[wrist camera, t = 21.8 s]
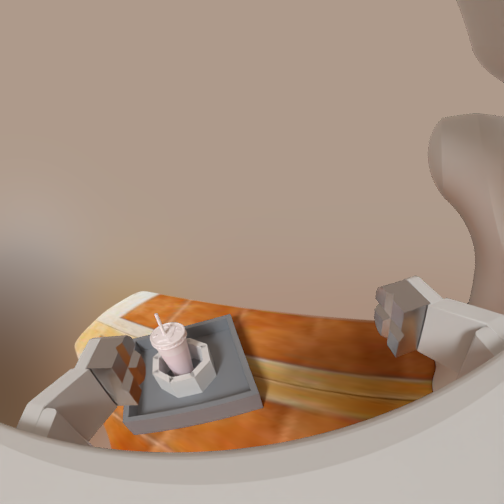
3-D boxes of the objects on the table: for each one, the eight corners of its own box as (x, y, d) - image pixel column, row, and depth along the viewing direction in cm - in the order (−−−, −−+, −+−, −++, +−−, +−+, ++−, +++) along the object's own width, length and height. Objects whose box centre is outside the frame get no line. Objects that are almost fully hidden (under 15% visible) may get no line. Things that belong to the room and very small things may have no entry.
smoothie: (162, 378, 46) (132, 319, 40) (181, 357, 51) (157, 298, 45) (188, 389, 43) (158, 328, 37) (207, 366, 48) (185, 304, 42)
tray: (234, 328, 58) (229, 309, 56) (263, 407, 39) (257, 388, 37) (139, 352, 55) (129, 334, 53) (134, 434, 35) (119, 418, 33)
